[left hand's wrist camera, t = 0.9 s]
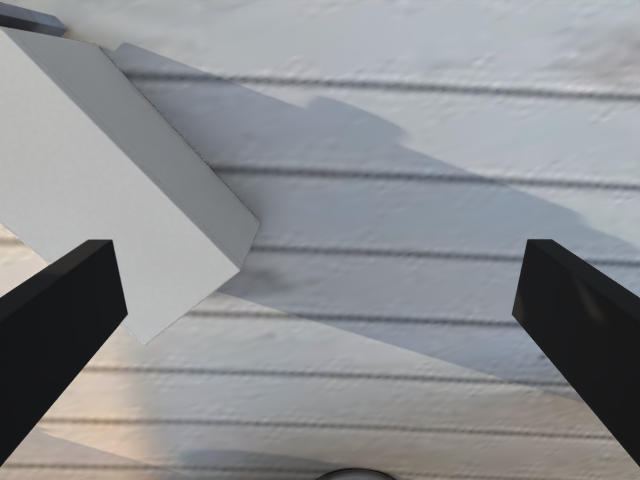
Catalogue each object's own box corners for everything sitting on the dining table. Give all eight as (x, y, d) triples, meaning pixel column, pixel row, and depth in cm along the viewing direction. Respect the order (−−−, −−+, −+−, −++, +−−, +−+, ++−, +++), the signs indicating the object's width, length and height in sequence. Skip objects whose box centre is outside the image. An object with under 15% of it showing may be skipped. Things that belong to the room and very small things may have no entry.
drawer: (-79, 31, 31) (-218, 13, 23) (-13, -57, 29) (-141, -112, 21) (158, 256, 39) (115, 301, 31) (226, 198, 37) (199, 231, 28)
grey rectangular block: (20, 125, 35) (-97, 141, 25) (95, 43, 33) (-2, 25, 23) (187, 283, 41) (144, 346, 31) (261, 223, 38) (241, 270, 29)
